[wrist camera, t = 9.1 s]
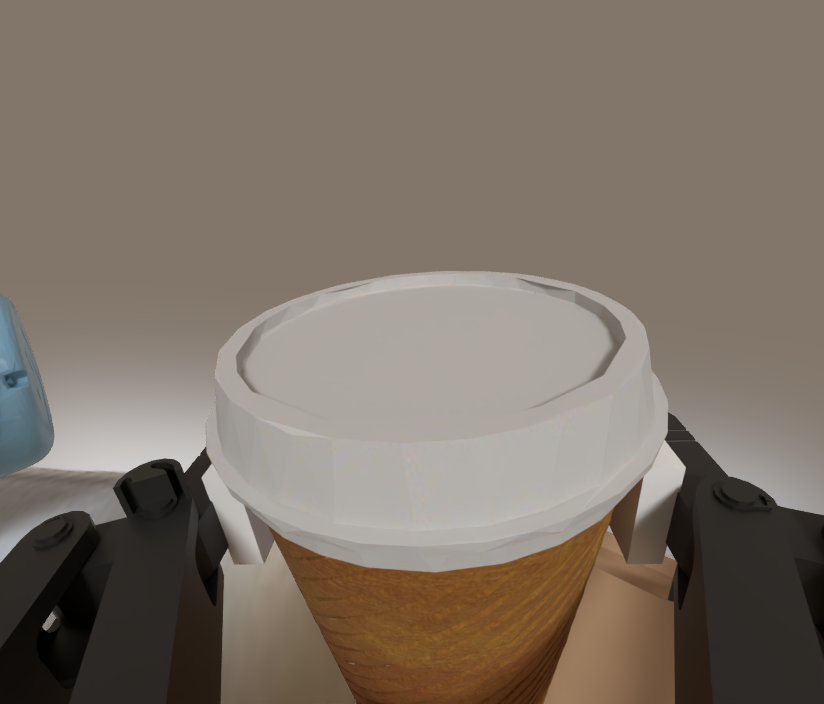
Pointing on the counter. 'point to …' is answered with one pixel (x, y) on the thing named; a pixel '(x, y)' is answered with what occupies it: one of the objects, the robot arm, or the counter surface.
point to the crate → (620, 636)
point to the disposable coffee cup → (439, 468)
